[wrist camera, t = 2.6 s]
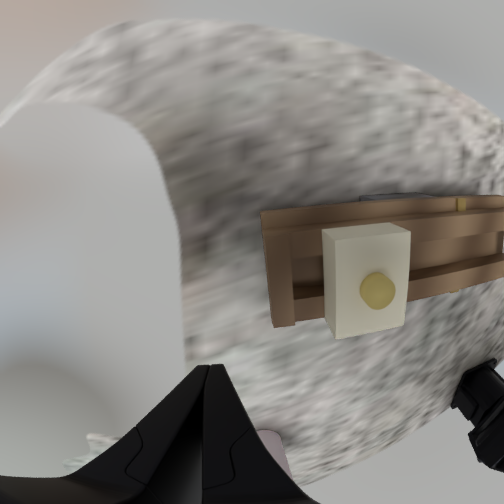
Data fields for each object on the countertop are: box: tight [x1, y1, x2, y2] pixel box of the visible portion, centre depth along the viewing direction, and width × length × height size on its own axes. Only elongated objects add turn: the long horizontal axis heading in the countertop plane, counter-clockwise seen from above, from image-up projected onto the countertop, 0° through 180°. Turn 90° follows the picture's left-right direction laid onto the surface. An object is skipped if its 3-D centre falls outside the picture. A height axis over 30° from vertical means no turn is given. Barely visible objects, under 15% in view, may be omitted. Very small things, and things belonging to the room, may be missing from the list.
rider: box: [322, 222, 411, 340], centre depth 15 cm, size 4×5×5 cm
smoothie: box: [256, 430, 293, 480], centre depth 20 cm, size 6×6×14 cm
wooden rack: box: [260, 193, 504, 328], centre depth 18 cm, size 20×7×6 cm, turn 97°
